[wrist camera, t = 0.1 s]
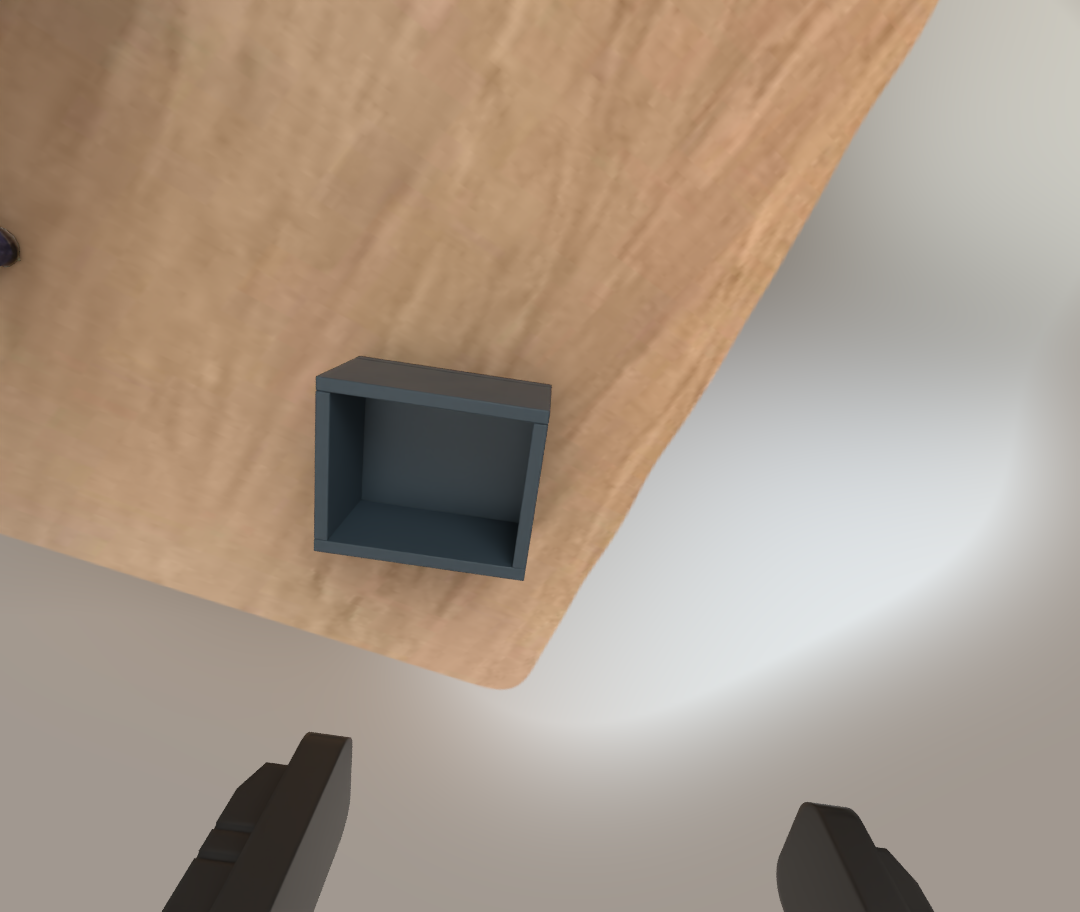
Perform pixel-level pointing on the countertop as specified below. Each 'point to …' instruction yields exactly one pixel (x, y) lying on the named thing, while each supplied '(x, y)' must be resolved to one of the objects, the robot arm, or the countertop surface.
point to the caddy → (428, 465)
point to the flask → (8, 248)
